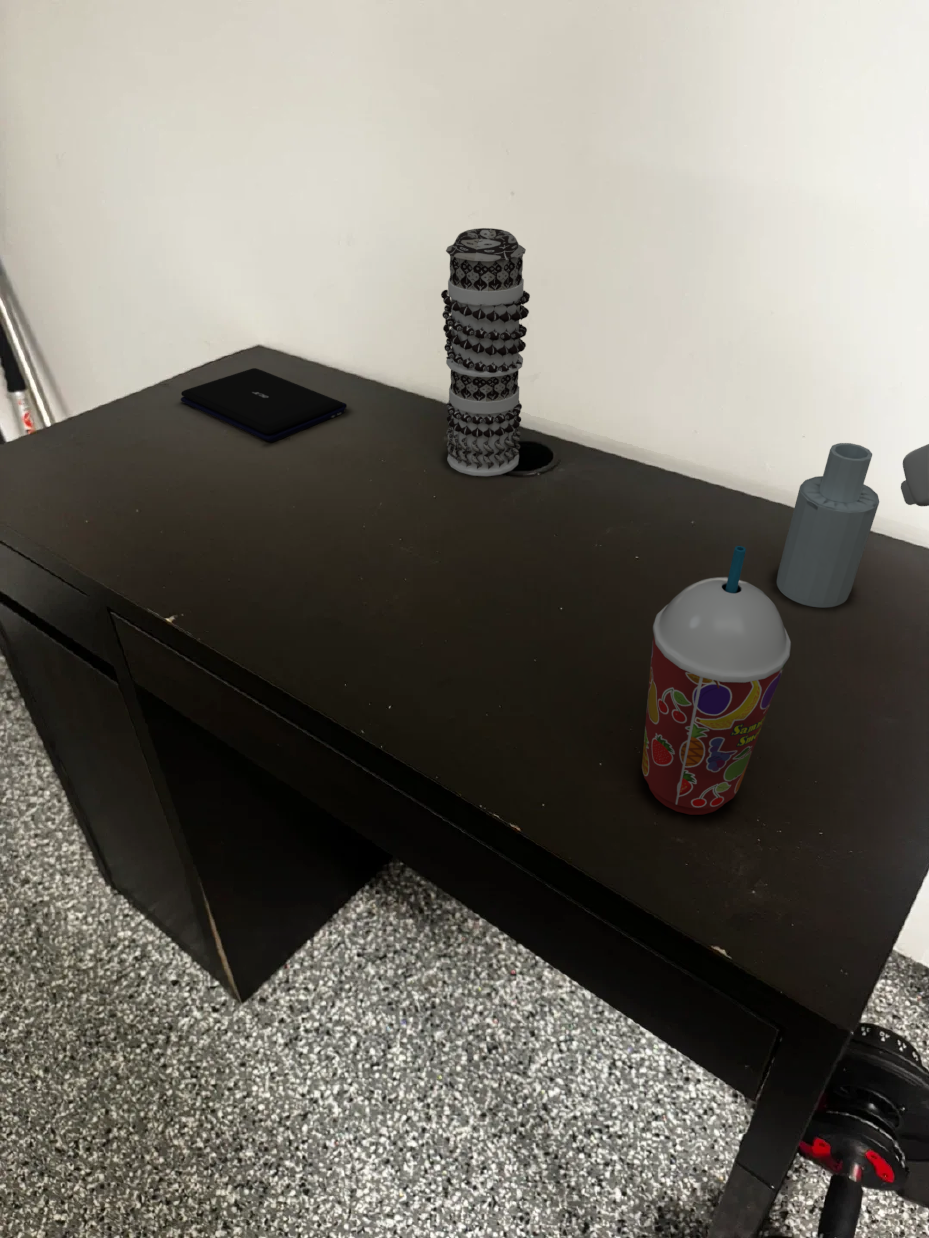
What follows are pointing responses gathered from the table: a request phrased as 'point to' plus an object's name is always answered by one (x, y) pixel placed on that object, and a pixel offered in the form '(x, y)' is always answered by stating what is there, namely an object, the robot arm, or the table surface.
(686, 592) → the smoothie
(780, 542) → the table surface
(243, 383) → the laptop
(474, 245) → the decorative candle
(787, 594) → the small bottle
